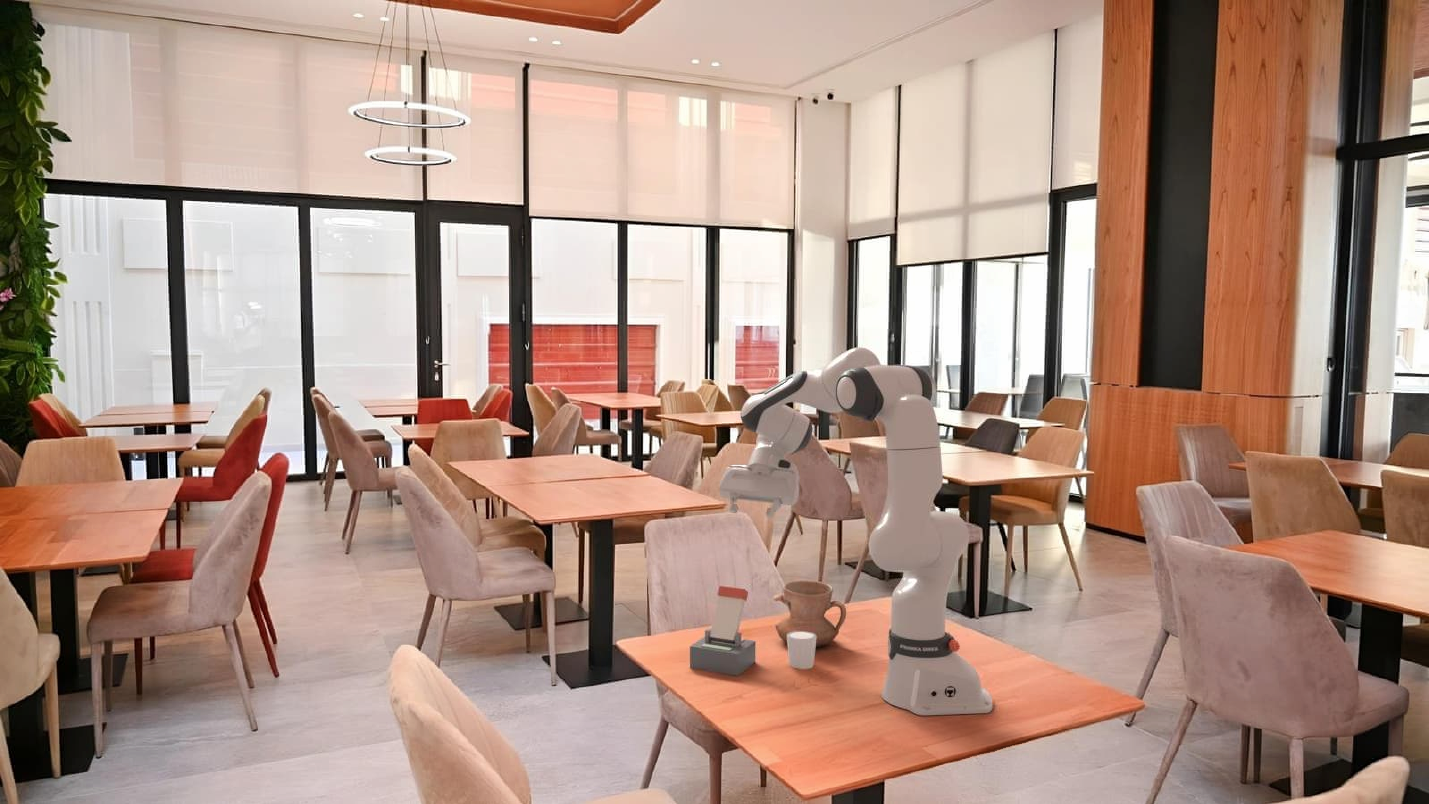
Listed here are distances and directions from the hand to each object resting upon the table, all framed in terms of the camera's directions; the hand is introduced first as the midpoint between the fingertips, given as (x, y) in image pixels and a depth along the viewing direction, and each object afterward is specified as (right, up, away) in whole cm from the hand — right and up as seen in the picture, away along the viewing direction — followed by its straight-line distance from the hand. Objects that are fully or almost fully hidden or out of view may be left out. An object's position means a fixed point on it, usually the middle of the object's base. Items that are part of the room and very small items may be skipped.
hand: (750, 514), depth 235 cm
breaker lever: (-7, -27, -15) cm, 32 cm away
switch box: (-7, -33, -14) cm, 37 cm away
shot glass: (+11, -33, -14) cm, 38 cm away
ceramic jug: (+14, -32, +2) cm, 35 cm away
